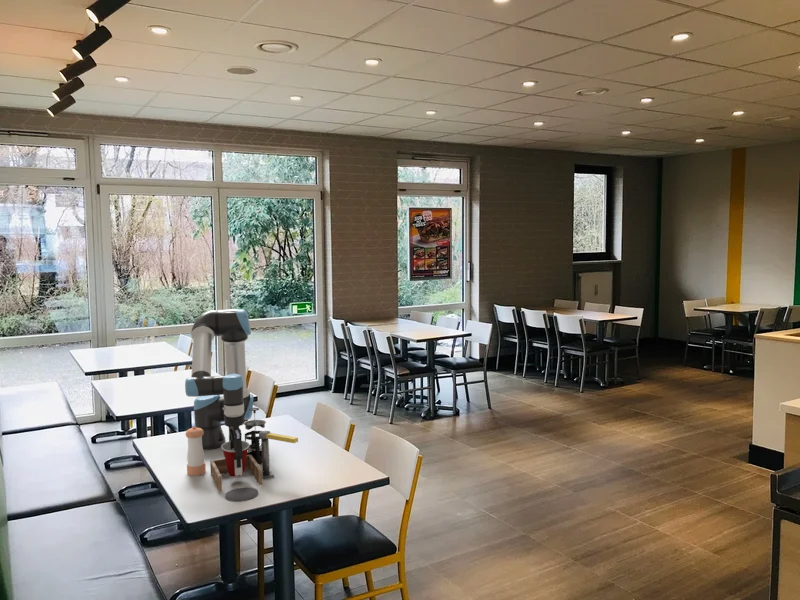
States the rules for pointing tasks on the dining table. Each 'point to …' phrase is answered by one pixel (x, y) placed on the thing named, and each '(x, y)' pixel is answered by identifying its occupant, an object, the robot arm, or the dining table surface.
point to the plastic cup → (230, 455)
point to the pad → (241, 494)
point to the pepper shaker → (195, 452)
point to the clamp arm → (277, 437)
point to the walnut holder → (221, 468)
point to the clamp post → (265, 460)
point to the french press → (254, 437)
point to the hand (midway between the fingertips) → (236, 471)
